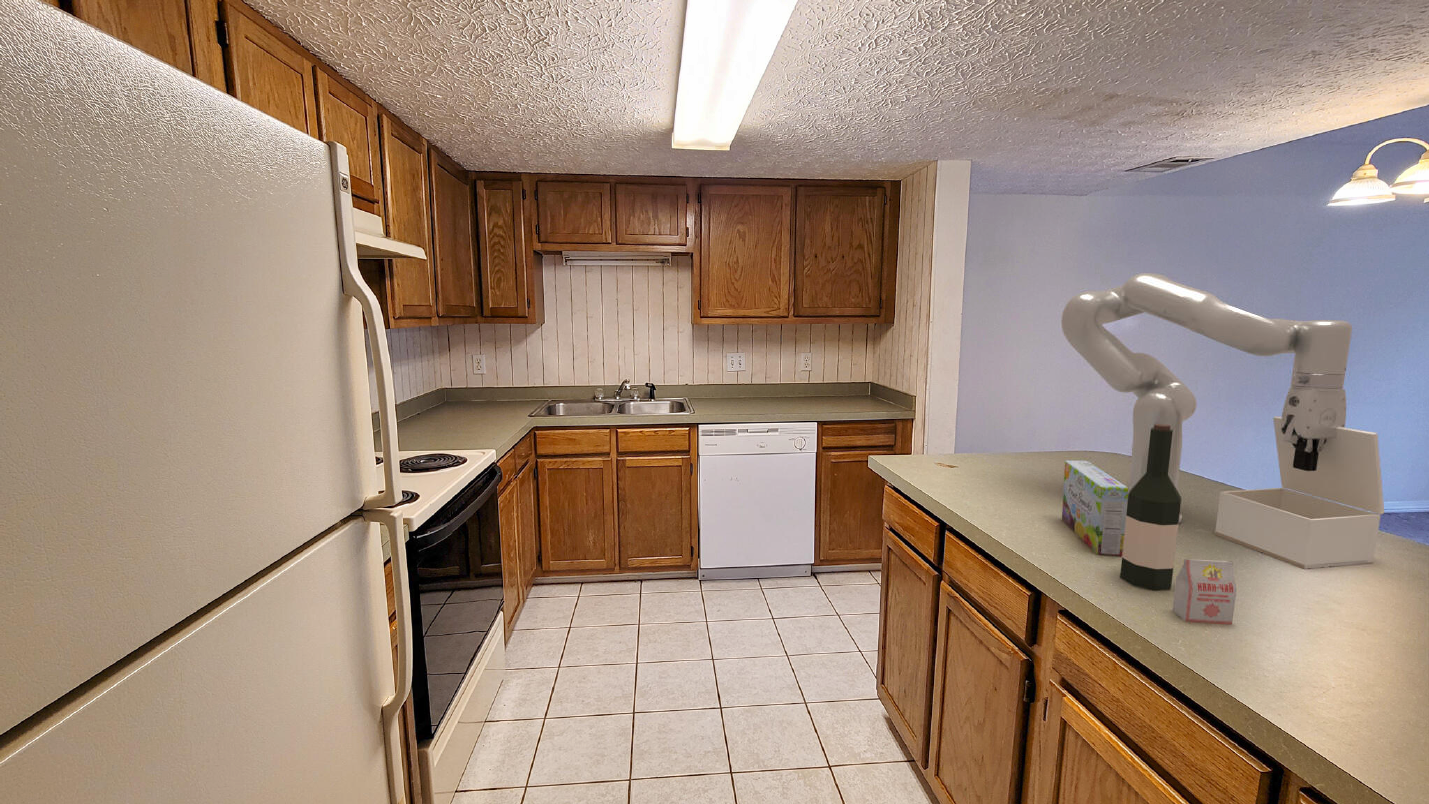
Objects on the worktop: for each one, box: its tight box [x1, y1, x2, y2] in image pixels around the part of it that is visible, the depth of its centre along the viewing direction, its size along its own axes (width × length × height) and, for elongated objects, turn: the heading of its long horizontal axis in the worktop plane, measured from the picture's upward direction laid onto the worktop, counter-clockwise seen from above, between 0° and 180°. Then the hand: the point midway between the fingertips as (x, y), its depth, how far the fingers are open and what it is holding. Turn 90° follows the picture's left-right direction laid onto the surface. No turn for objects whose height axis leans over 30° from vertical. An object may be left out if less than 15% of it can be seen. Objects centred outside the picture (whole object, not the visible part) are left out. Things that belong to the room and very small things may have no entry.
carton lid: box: [1273, 416, 1385, 515], centre depth 123 cm, size 17×18×1 cm
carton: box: [1214, 487, 1382, 570], centre depth 125 cm, size 16×18×10 cm
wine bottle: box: [1119, 424, 1182, 592], centre depth 109 cm, size 8×8×30 cm
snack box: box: [1061, 460, 1129, 557], centre depth 132 cm, size 21×6×15 cm, turn 168°
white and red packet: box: [1172, 558, 1237, 625], centre depth 98 cm, size 4×7×10 cm, turn 80°
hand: (1304, 469), depth 123 cm, fingers closed
